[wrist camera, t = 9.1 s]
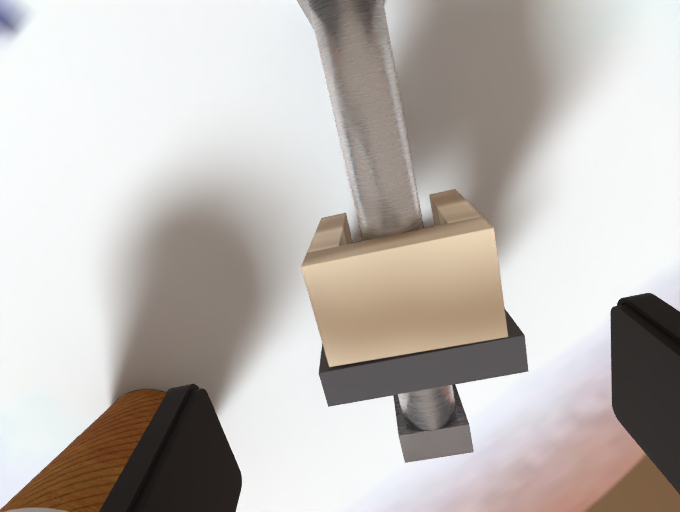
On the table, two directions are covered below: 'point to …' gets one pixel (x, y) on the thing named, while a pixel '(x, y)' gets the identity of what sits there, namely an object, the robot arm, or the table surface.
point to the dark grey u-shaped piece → (424, 368)
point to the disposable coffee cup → (90, 460)
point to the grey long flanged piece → (382, 182)
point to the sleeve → (406, 285)
